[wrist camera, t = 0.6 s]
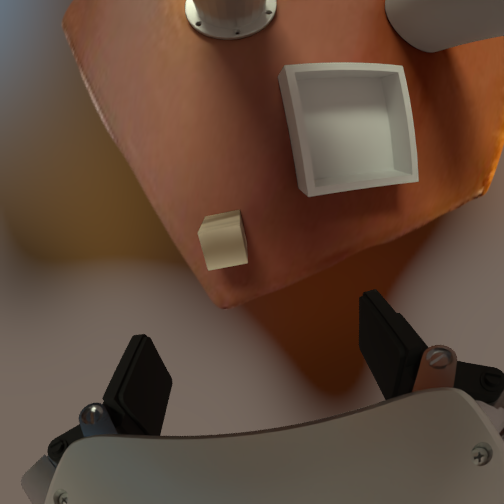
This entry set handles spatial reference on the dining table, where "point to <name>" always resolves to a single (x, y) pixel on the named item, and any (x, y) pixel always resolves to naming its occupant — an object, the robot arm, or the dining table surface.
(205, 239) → the birch block
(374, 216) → the dining table surface
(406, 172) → the bin
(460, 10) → the cylinder vase
